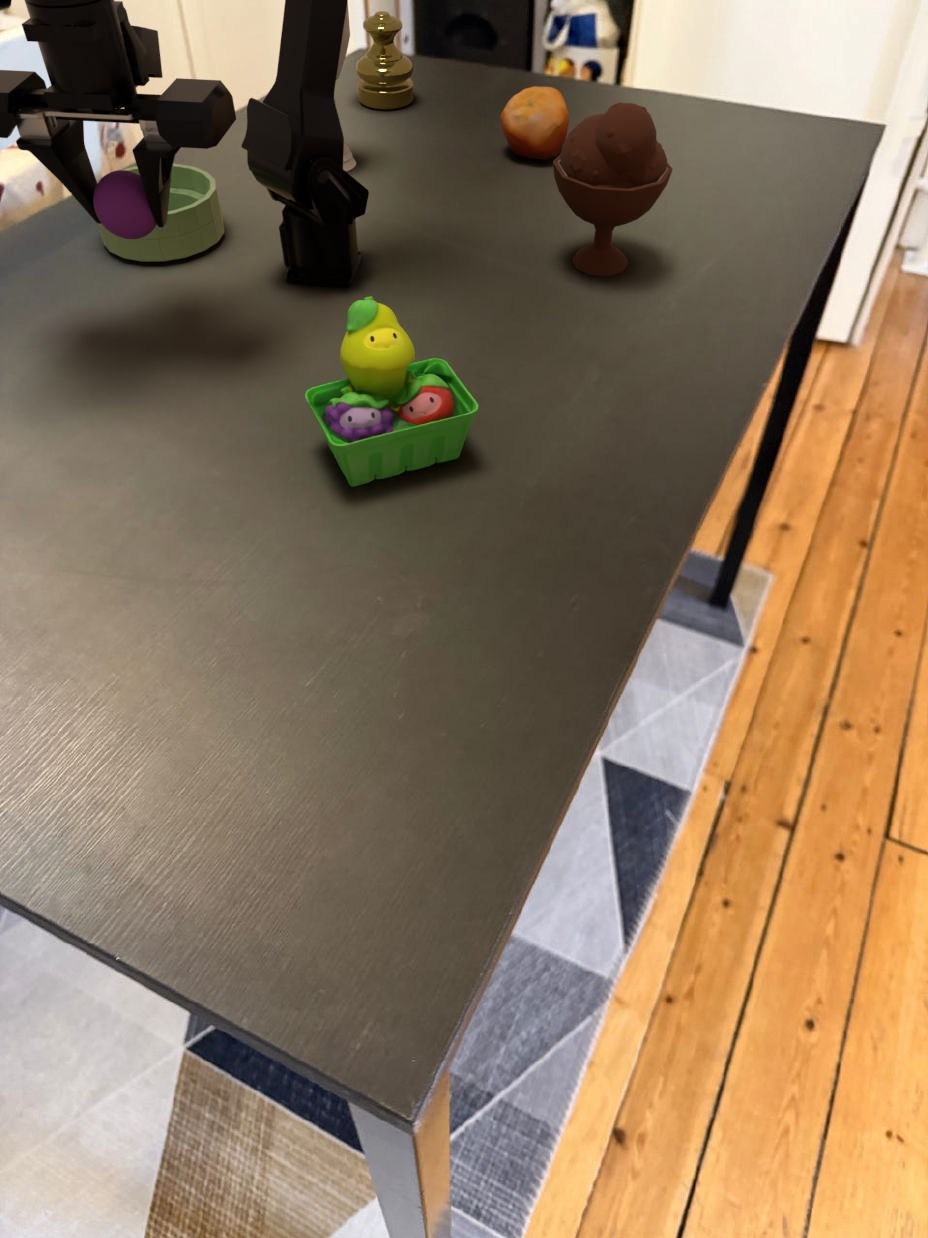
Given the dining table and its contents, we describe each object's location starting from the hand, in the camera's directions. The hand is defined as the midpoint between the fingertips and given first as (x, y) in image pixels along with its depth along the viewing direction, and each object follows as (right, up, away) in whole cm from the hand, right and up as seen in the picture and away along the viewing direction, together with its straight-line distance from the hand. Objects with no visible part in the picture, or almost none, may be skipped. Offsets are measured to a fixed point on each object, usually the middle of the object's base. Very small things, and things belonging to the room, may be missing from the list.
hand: (132, 223), depth 72 cm
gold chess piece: (+17, +37, +47) cm, 62 cm away
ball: (0, +1, -1) cm, 2 cm away
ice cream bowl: (+41, +4, +18) cm, 45 cm away
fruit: (+35, +24, +36) cm, 56 cm away
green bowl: (-4, +8, +20) cm, 22 cm away
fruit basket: (+21, -19, -2) cm, 28 cm away
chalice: (+12, +22, +33) cm, 41 cm away
